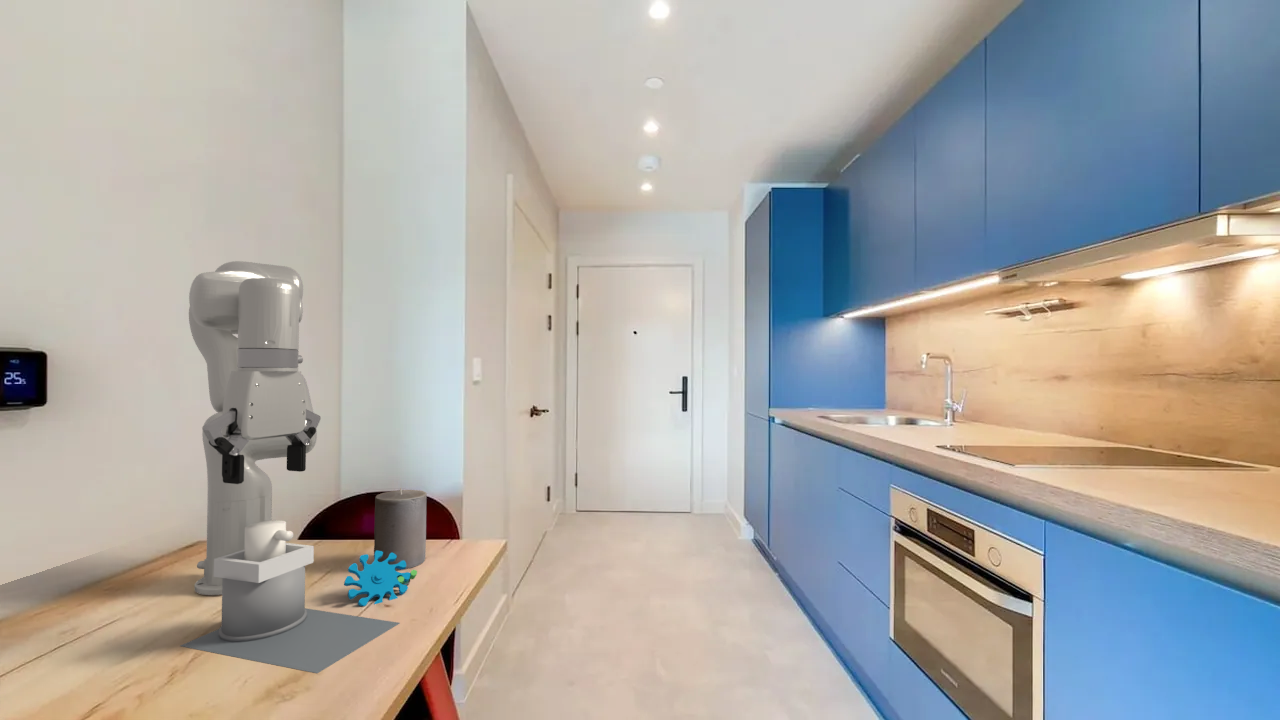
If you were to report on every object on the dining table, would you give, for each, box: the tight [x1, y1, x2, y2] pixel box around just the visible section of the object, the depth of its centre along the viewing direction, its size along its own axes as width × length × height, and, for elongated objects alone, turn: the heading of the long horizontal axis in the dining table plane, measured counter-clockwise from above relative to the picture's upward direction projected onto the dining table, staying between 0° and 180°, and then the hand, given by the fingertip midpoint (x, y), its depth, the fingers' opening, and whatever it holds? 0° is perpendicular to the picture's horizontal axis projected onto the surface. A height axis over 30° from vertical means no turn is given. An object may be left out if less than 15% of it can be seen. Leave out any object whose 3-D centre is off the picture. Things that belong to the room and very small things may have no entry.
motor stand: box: [179, 542, 401, 674], centre depth 76 cm, size 24×14×12 cm, turn 73°
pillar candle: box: [373, 487, 428, 571], centre depth 108 cm, size 10×10×15 cm
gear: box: [343, 550, 418, 607], centre depth 90 cm, size 11×6×10 cm
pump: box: [244, 519, 294, 562], centre depth 79 cm, size 7×5×6 cm
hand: (266, 476), depth 80 cm, fingers open, 9 cm apart
